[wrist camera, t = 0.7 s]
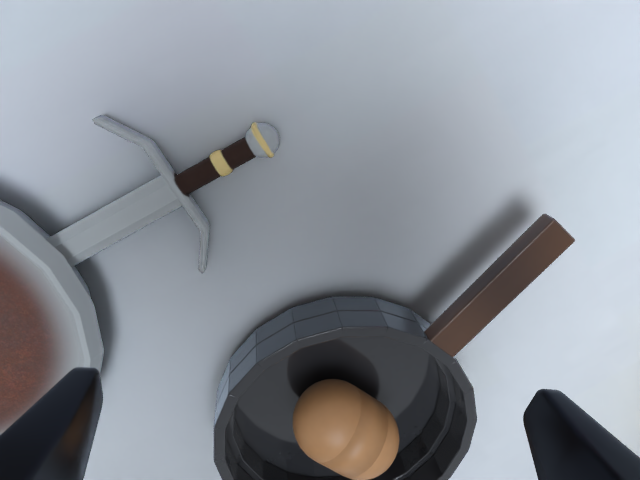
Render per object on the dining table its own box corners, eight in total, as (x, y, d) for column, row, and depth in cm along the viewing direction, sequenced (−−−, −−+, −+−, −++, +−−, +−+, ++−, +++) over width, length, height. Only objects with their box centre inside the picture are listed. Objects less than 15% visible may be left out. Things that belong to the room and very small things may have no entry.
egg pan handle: (444, 349, 25) (451, 360, 24) (421, 333, 24) (427, 343, 23) (565, 233, 23) (576, 240, 22) (543, 212, 23) (554, 218, 22)
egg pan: (346, 509, 32) (356, 560, 29) (168, 420, 27) (157, 470, 24) (496, 371, 29) (526, 411, 26) (327, 243, 24) (338, 273, 21)
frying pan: (364, 290, 23) (-110, 545, 25) (352, 265, 26) (-76, 495, 27) (159, -80, 16) (-484, 301, 18) (170, -63, 19) (-389, 268, 20)
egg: (354, 446, 30) (369, 510, 26) (273, 401, 27) (277, 463, 23) (402, 400, 29) (426, 459, 25) (323, 349, 26) (336, 405, 22)
